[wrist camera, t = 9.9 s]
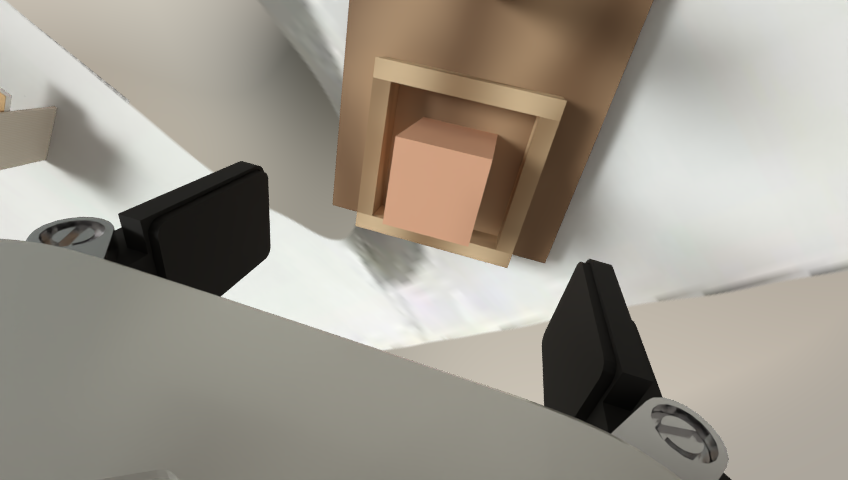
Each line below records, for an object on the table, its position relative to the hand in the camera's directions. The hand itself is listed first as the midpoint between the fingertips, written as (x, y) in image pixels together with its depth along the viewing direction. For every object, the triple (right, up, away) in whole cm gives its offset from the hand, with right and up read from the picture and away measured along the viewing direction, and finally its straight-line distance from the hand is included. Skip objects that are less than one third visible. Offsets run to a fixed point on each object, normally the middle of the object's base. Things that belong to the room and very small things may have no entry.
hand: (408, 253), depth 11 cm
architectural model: (-30, +10, +20) cm, 38 cm away
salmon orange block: (+2, +5, +12) cm, 13 cm away
